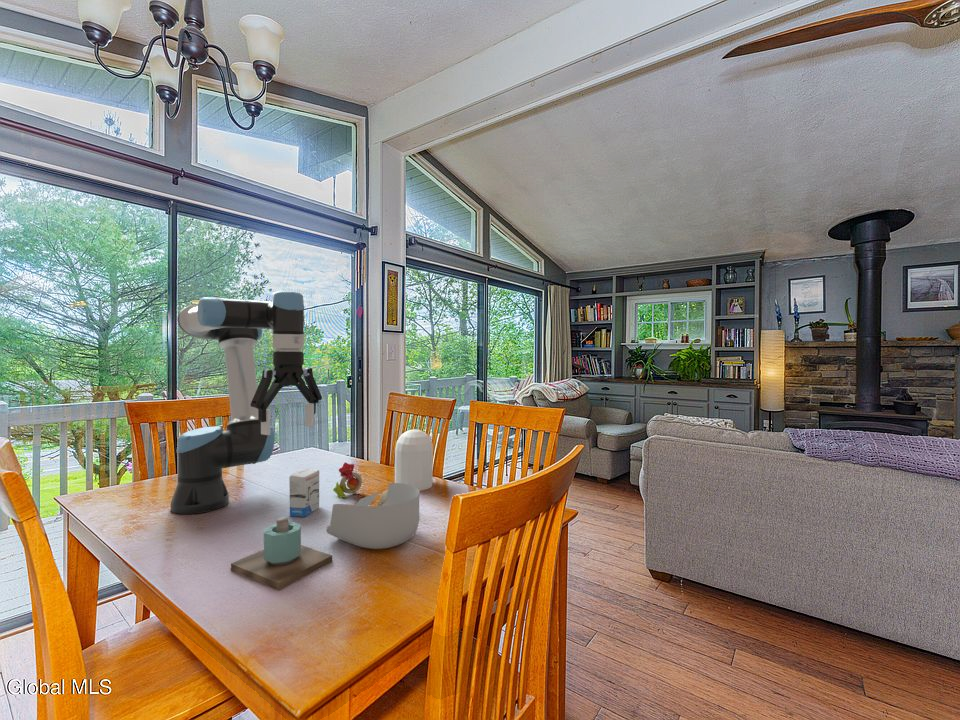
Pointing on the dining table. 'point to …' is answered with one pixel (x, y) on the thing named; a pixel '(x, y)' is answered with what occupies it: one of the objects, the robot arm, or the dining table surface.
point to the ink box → (304, 492)
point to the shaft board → (281, 564)
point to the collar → (282, 543)
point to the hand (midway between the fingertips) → (288, 430)
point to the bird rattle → (351, 483)
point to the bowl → (378, 519)
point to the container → (414, 459)
